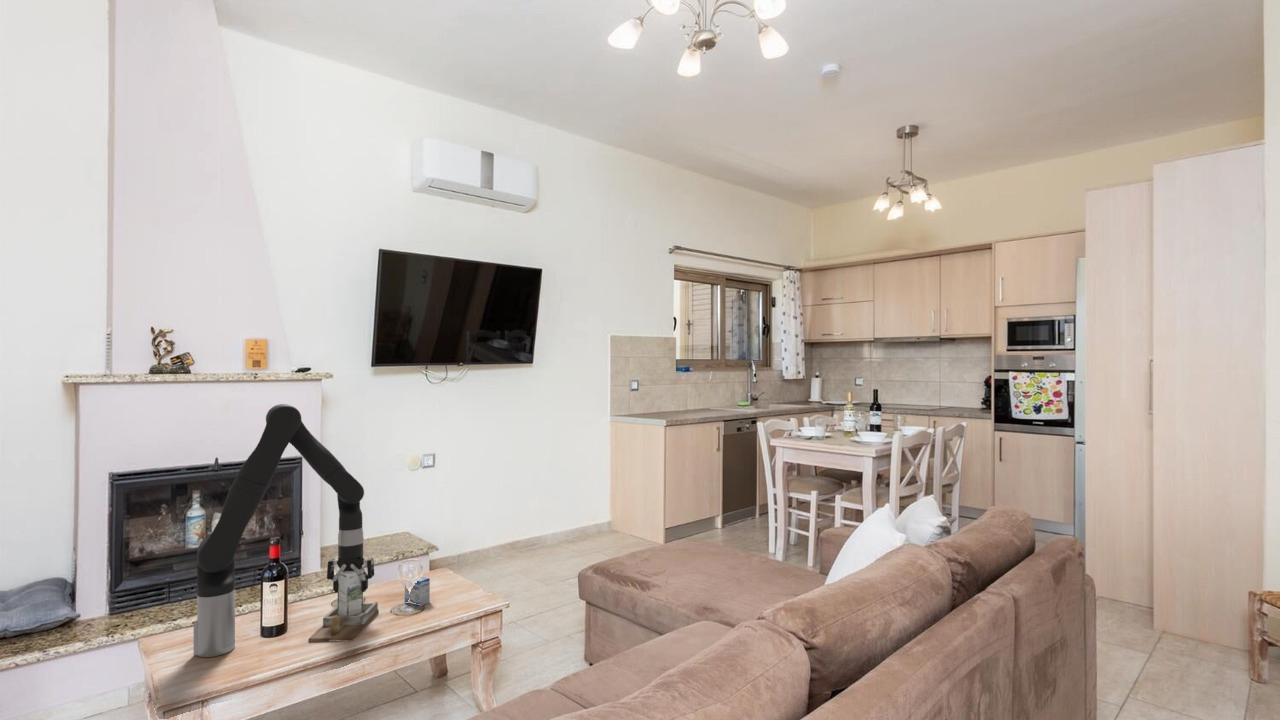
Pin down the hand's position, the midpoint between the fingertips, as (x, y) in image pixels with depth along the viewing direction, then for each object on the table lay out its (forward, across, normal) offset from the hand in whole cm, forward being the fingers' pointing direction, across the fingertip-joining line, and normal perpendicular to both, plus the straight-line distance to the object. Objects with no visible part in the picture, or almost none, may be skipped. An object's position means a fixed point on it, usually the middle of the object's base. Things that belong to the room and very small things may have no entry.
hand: (350, 591), depth 205 cm
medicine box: (+10, +17, +15) cm, 24 cm away
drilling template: (+9, 0, -4) cm, 10 cm away
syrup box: (+7, 0, 0) cm, 8 cm away
